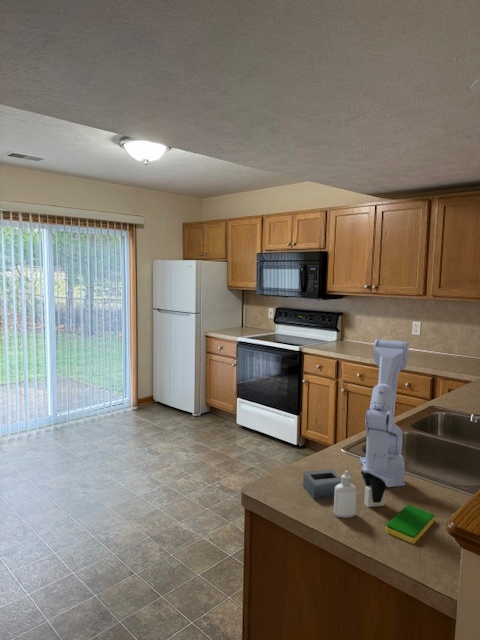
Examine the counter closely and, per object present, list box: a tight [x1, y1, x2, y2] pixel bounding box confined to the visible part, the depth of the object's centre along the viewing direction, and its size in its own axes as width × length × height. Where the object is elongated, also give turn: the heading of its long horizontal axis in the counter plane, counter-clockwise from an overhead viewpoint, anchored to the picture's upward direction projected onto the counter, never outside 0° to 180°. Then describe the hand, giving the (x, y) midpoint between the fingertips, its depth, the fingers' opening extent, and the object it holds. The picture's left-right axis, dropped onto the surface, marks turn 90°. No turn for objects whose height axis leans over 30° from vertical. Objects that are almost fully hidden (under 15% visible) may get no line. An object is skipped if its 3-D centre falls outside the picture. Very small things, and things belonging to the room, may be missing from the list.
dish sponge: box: [385, 504, 435, 545], centre depth 112 cm, size 7×14×2 cm, turn 137°
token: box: [363, 485, 386, 508], centre depth 122 cm, size 5×2×5 cm, turn 104°
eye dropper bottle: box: [333, 470, 358, 518], centre depth 117 cm, size 4×6×12 cm
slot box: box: [302, 468, 341, 500], centre depth 129 cm, size 9×8×5 cm
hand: (374, 499), depth 123 cm, fingers closed on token, 2 cm apart
